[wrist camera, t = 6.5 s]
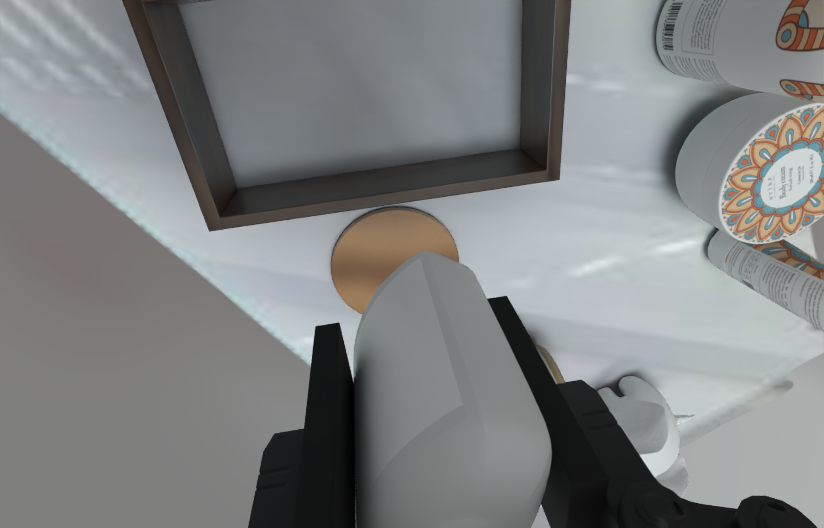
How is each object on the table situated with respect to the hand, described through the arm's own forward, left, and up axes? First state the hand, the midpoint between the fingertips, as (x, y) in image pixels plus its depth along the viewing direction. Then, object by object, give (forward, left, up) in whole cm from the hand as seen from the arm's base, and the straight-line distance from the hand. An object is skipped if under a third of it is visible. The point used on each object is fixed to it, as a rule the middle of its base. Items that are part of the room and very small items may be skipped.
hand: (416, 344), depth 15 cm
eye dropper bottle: (0, 0, -2) cm, 2 cm away
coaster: (+8, 0, -19) cm, 21 cm away
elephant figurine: (+28, +20, -19) cm, 40 cm away
